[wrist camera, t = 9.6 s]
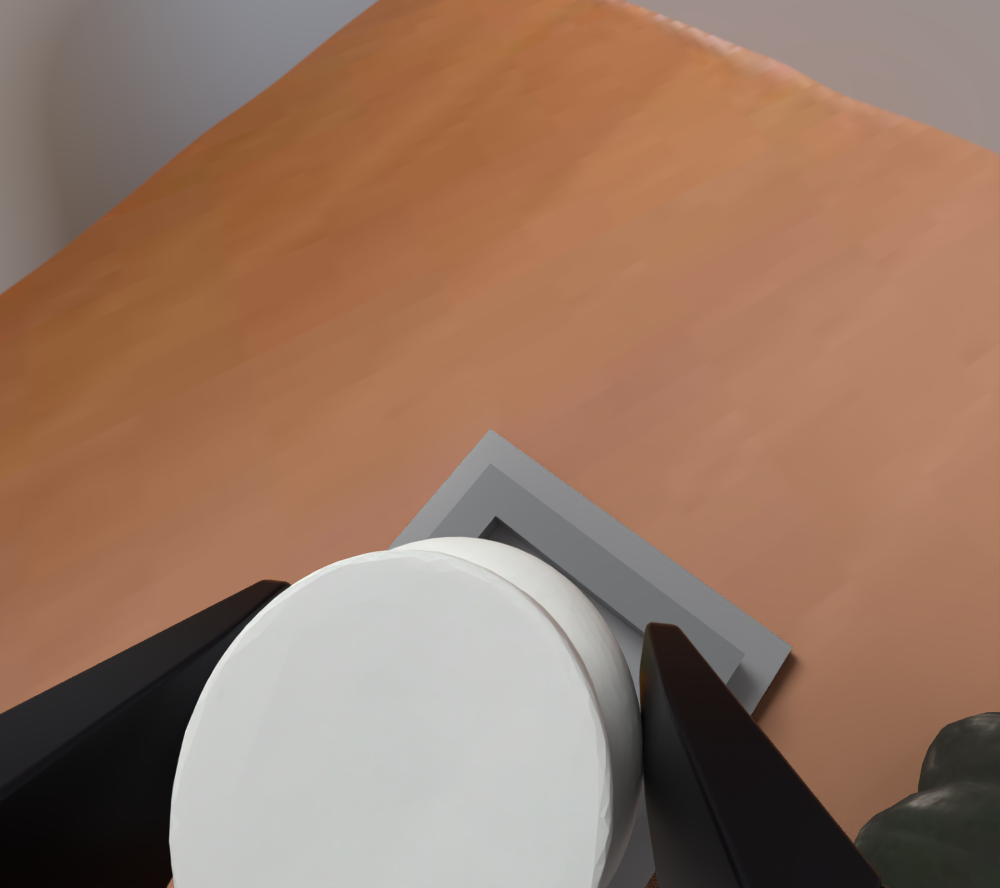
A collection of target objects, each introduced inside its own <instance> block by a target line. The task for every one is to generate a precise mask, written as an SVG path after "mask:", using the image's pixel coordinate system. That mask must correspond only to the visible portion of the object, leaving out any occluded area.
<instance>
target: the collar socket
mask: <svg viewBox="0 0 1000 888" xmlns="http://www.w3.org/2000/svg"><path fill="white" fill-rule="evenodd" d="M441 537H470V538H479V539H486V540H490V541H495V542H499V543H503V544H506V545H509V546H512V547H515V548H518V549H520V550H522V551H524V552H526V553H529V554H531V555H533V556H535V557H537V558H538V559H540V560H542V561H543V562H545V563H546V564H548V565H550V566H551V567H553V568H554V569H555V570H557V571H558V572H559V573H561V574H562V575H563V576H565V577H566V578H567V579H568V580H569V581H571V582H572V583H573V584H574V585H575V586H576V587H577V588H578V589H579V590H580V591H581V592H582V593H583V594H584V595H585V596H586V597H587V598H588V599H589V601H590V602H591V603H592V604H593V605H594V607H595V608H596V609H597V611H598V612H599V613H600V615H601V616H602V617H603V619H604V620H605V622H606V623H607V625H608V626H609V628H610V630H611V631H612V633H613V634H614V636H615V638H616V640H617V642H618V644H619V646H620V648H621V650H622V652H623V654H624V657H625V659H626V662H627V664H628V667H629V669H630V672H631V676H632V679H633V682H634V686H635V690H636V694H637V698H638V702H639V706H640V687H639V670H640V661H641V654H642V648H643V641H644V634H645V628H646V625H647V624H648V623H650V622H658V623H667V624H674V625H676V626H678V627H679V628H680V629H681V630H682V631H683V632H684V634H685V635H686V636H687V637H688V639H689V640H690V641H691V642H692V644H693V645H694V646H695V647H696V649H697V650H698V651H699V652H700V654H701V655H702V656H703V657H704V659H705V660H706V661H707V662H708V663H709V665H710V666H711V667H712V668H713V670H714V671H715V672H716V673H717V675H718V676H719V677H720V678H721V680H722V681H723V682H724V683H725V685H726V686H727V687H728V688H729V690H730V691H731V692H732V693H733V694H734V696H735V697H736V698H737V699H738V701H739V702H740V703H741V704H742V706H743V707H744V708H745V709H746V711H747V712H748V713H749V714H750V716H751V714H752V713H753V711H754V709H755V708H756V706H757V704H758V703H759V701H760V700H761V698H762V696H763V695H764V693H765V691H766V690H767V688H768V687H769V685H770V683H771V682H772V680H773V678H774V677H775V675H776V673H777V672H778V670H779V669H780V667H781V665H782V664H783V662H784V660H785V659H786V657H787V656H788V654H789V652H790V651H791V649H792V646H790V645H789V644H788V643H786V642H785V641H784V640H782V639H781V638H779V637H778V636H777V635H775V634H774V633H772V632H771V631H770V630H768V629H767V628H766V627H764V626H763V625H761V624H760V623H759V622H757V621H756V620H754V619H753V618H752V617H750V616H749V615H748V614H746V613H745V612H743V611H742V610H741V609H739V608H738V607H736V606H735V605H734V604H732V603H731V602H730V601H728V600H727V599H725V598H724V597H723V596H721V595H720V594H718V593H717V592H716V591H714V590H713V589H712V588H710V587H709V586H707V585H706V584H705V583H703V582H702V581H700V580H699V579H698V578H696V577H695V576H694V575H692V574H691V573H689V572H688V571H687V570H685V569H684V568H682V567H681V566H680V565H678V564H677V563H676V562H674V561H673V560H671V559H670V558H669V557H667V556H666V555H664V554H663V553H662V552H660V551H659V550H658V549H656V548H655V547H653V546H652V545H651V544H649V543H648V542H646V541H645V540H644V539H642V538H641V537H640V536H638V535H637V534H635V533H634V532H633V531H631V530H630V529H628V528H627V527H626V526H624V525H623V524H622V523H620V522H619V521H617V520H616V519H615V518H613V517H612V516H610V515H609V514H608V513H606V512H605V511H604V510H602V509H601V508H599V507H598V506H597V505H595V504H594V503H592V502H591V501H590V500H588V499H587V498H586V497H584V496H583V495H581V494H580V493H579V492H577V491H576V490H574V489H573V488H572V487H570V486H569V485H568V484H566V483H565V482H563V481H562V480H561V479H559V478H558V477H556V476H555V475H554V474H552V473H551V472H550V471H548V470H547V469H545V468H544V467H543V466H541V465H540V464H538V463H537V462H536V461H534V460H533V459H532V458H530V457H529V456H527V455H526V454H525V453H523V452H522V451H520V450H519V449H518V448H516V447H515V446H514V445H512V444H511V443H509V442H508V441H507V440H505V439H504V438H502V437H501V436H500V435H498V434H497V433H496V432H494V431H493V430H491V429H490V430H489V431H488V432H487V433H486V435H485V436H484V437H483V438H482V439H481V440H480V442H479V443H478V444H477V445H476V446H475V447H474V449H473V450H472V451H471V452H470V453H469V454H468V456H467V457H466V458H465V459H464V460H463V461H462V463H461V464H460V465H459V466H458V467H457V468H456V470H455V471H454V472H453V473H452V474H451V475H450V477H449V478H448V479H447V480H446V481H445V482H444V484H443V485H442V486H441V487H440V488H439V489H438V491H437V492H436V493H435V494H434V495H433V497H432V498H431V499H430V500H429V501H428V502H427V504H426V505H425V506H424V507H423V508H422V509H421V511H420V512H419V513H418V514H417V515H416V516H415V518H414V519H413V520H412V521H411V522H410V523H409V525H408V526H407V527H406V528H405V529H404V530H403V532H402V533H401V534H400V535H399V536H398V537H397V539H396V540H395V541H394V542H393V543H392V544H391V546H390V547H389V548H388V549H387V550H391V549H393V548H396V547H399V546H402V545H405V544H408V543H412V542H417V541H422V540H426V539H431V538H441ZM387 550H386V551H387ZM640 713H641V711H640ZM655 871H656V870H655V864H654V857H653V850H652V844H651V837H650V831H649V824H648V818H647V810H646V802H645V793H644V779H643V783H642V791H641V798H640V802H639V807H638V811H637V816H636V820H635V824H634V827H633V830H632V833H631V836H630V840H629V843H628V846H627V848H626V850H625V853H624V855H623V857H622V860H621V862H620V864H619V866H618V868H617V871H616V872H615V874H614V876H613V878H612V879H611V881H610V883H609V885H608V886H607V888H645V887H646V885H647V884H648V882H649V880H650V879H651V877H652V876H653V874H654V872H655Z"/></svg>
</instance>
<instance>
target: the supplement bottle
mask: <svg viewBox="0 0 1000 888" xmlns="http://www.w3.org/2000/svg"><path fill="white" fill-rule="evenodd" d="M642 783H643V729H642V719H641V713H640V706H639V702H638V698H637V694H636V690H635V686H634V682H633V679H632V676H631V672H630V669H629V667H628V664H627V662H626V659H625V657H624V654H623V652H622V650H621V648H620V646H619V644H618V642H617V640H616V638H615V636H614V634H613V633H612V631H611V630H610V628H609V626H608V625H607V623H606V622H605V620H604V619H603V617H602V616H601V615H600V613H599V612H598V611H597V609H596V608H595V607H594V605H593V604H592V603H591V602H590V601H589V599H588V598H587V597H586V596H585V595H584V594H583V593H582V592H581V591H580V590H579V589H578V588H577V587H576V586H575V585H574V584H573V583H572V582H571V581H569V580H568V579H567V578H566V577H565V576H563V575H562V574H561V573H559V572H558V571H557V570H555V569H554V568H553V567H551V566H550V565H548V564H546V563H545V562H543V561H542V560H540V559H538V558H537V557H535V556H533V555H531V554H529V553H526V552H524V551H522V550H520V549H518V548H515V547H512V546H509V545H506V544H503V543H499V542H495V541H490V540H486V539H479V538H470V537H441V538H431V539H426V540H422V541H417V542H412V543H408V544H405V545H402V546H399V547H396V548H393V549H391V550H387V551H378V552H371V553H367V554H362V555H359V556H355V557H351V558H348V559H345V560H341V561H338V562H335V563H333V564H331V565H328V566H326V567H324V568H322V569H319V570H317V571H315V572H313V573H311V574H310V575H308V576H306V577H304V578H303V579H301V580H299V581H298V582H296V583H295V584H293V585H292V586H290V587H289V588H288V589H286V590H285V591H283V592H282V593H281V594H280V595H278V596H277V597H276V598H274V599H273V600H272V601H271V602H270V603H269V604H268V605H267V606H266V607H264V608H263V609H262V610H261V611H260V612H259V613H258V614H257V615H256V616H255V617H254V618H253V619H252V621H250V622H249V623H248V624H247V625H246V627H245V628H244V629H243V630H242V632H241V633H240V634H239V635H238V636H237V637H236V638H235V640H234V641H233V642H232V644H231V645H230V646H229V648H228V649H227V651H226V652H225V653H224V655H223V656H222V658H221V659H220V661H219V662H218V664H217V665H216V667H215V668H214V670H213V672H212V674H211V676H210V677H209V679H208V681H207V683H206V685H205V687H204V689H203V691H202V693H201V695H200V697H199V699H198V702H197V704H196V707H195V709H194V712H193V714H192V717H191V719H190V721H189V724H188V726H187V729H186V731H185V735H184V739H183V743H182V748H181V752H180V756H179V760H178V765H177V770H176V775H175V780H174V785H173V792H172V800H171V815H170V835H169V844H170V853H171V866H172V873H173V880H174V888H607V886H608V885H609V883H610V881H611V879H612V878H613V876H614V874H615V872H616V871H617V868H618V866H619V864H620V862H621V860H622V857H623V855H624V853H625V850H626V848H627V846H628V843H629V840H630V836H631V833H632V830H633V827H634V824H635V820H636V816H637V811H638V807H639V802H640V798H641V791H642Z"/></svg>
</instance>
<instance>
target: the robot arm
mask: <svg viewBox="0 0 1000 888" xmlns="http://www.w3.org/2000/svg"><path fill="white" fill-rule="evenodd" d="M290 586H291V585H290V584H289V583H288V582H285V581H276V580H262V581H259V582H257V583H255V584H254V585H252V586H250V587H248V588H246V589H244V590H242V591H240V592H238V593H236V594H234V595H232V596H230V597H228V598H226V599H224V600H222V601H220V602H218V603H216V604H214V605H212V606H211V607H209V608H207V609H205V610H203V611H201V612H199V613H197V614H195V615H193V616H191V617H189V618H187V619H185V620H183V621H181V622H179V623H177V624H175V625H173V626H171V627H170V628H168V629H166V630H164V631H162V632H160V633H158V634H156V635H154V636H152V637H150V638H148V639H146V640H144V641H142V642H140V643H138V644H136V645H134V646H132V647H130V648H128V649H127V650H125V651H123V652H121V653H119V654H117V655H115V656H113V657H111V658H109V659H107V660H105V661H103V662H101V663H99V664H97V665H95V666H93V667H91V668H89V669H87V670H85V671H84V672H82V673H80V674H78V675H76V676H74V677H72V678H70V679H68V680H66V681H64V682H62V683H60V684H58V685H56V686H54V687H52V688H50V689H48V690H46V691H44V692H42V693H41V694H39V695H37V696H35V697H33V698H31V699H29V700H27V701H25V702H23V703H21V704H19V705H17V706H15V707H13V708H11V709H9V710H7V711H5V712H3V713H1V714H0V888H167V886H168V884H169V883H170V881H171V879H172V877H173V873H172V866H171V853H170V844H169V835H170V815H171V800H172V792H173V785H174V780H175V775H176V770H177V765H178V760H179V756H180V752H181V748H182V743H183V739H184V735H185V731H186V729H187V726H188V724H189V721H190V719H191V717H192V714H193V712H194V709H195V707H196V704H197V702H198V699H199V697H200V695H201V693H202V691H203V689H204V687H205V685H206V683H207V681H208V679H209V677H210V676H211V674H212V672H213V670H214V668H215V667H216V665H217V664H218V662H219V661H220V659H221V658H222V656H223V655H224V653H225V652H226V651H227V649H228V648H229V646H230V645H231V644H232V642H233V641H234V640H235V638H236V637H237V636H238V635H239V634H240V633H241V632H242V630H243V629H244V628H245V627H246V625H247V624H248V623H249V622H250V621H252V619H253V618H254V617H255V616H256V615H257V614H258V613H259V612H260V611H261V610H262V609H263V608H264V607H266V606H267V605H268V604H269V603H270V602H271V601H272V600H273V599H274V598H276V597H277V596H278V595H280V594H281V593H282V592H283V591H285V590H286V589H288V588H289V587H290ZM639 687H640V711H641V719H642V729H643V779H644V793H645V802H646V810H647V818H648V824H649V831H650V837H651V844H652V850H653V857H654V864H655V870H656V877H657V883H658V888H889V887H888V886H882V887H881V885H882V879H881V877H880V876H879V874H878V873H877V872H876V871H875V869H874V868H873V867H872V866H871V864H870V863H869V862H868V861H867V859H866V858H865V857H864V856H863V854H862V853H861V852H860V851H859V850H858V848H857V847H856V846H855V845H854V843H853V842H852V841H851V840H850V838H849V837H848V836H847V835H846V833H845V832H844V831H843V830H842V828H841V827H840V826H839V825H838V823H837V822H836V821H835V820H834V819H833V817H832V816H831V815H830V814H829V812H828V811H827V810H826V809H825V807H824V806H823V805H822V804H821V802H820V801H819V800H818V799H817V797H816V796H815V795H814V794H813V792H812V791H811V790H810V789H809V788H808V786H807V785H806V784H805V783H804V781H803V780H802V779H801V778H800V776H799V775H798V774H797V773H796V771H795V770H794V769H793V768H792V766H791V765H790V764H789V763H788V761H787V760H786V759H785V758H784V756H783V755H782V754H781V753H780V752H779V750H778V749H777V748H776V747H775V745H774V744H773V743H772V742H771V740H770V739H769V738H768V737H767V735H766V734H765V733H764V732H763V730H762V729H761V728H760V727H759V725H758V724H757V723H756V722H755V721H754V719H753V718H752V717H751V716H750V714H749V713H748V712H747V711H746V709H745V708H744V707H743V706H742V704H741V703H740V702H739V701H738V699H737V698H736V697H735V696H734V694H733V693H732V692H731V691H730V690H729V688H728V687H727V686H726V685H725V683H724V682H723V681H722V680H721V678H720V677H719V676H718V675H717V673H716V672H715V671H714V670H713V668H712V667H711V666H710V665H709V663H708V662H707V661H706V660H705V659H704V657H703V656H702V655H701V654H700V652H699V651H698V650H697V649H696V647H695V646H694V645H693V644H692V642H691V641H690V640H689V639H688V637H687V636H686V635H685V634H684V632H683V631H682V630H681V629H680V628H679V627H678V626H676V625H674V624H667V623H658V622H650V623H648V624H647V625H646V628H645V634H644V641H643V648H642V654H641V661H640V670H639Z"/></svg>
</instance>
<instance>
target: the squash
mask: <svg viewBox="0 0 1000 888" xmlns="http://www.w3.org/2000/svg"><path fill="white" fill-rule="evenodd" d="M854 845H855V846H856V847H857V848H858V850H859V851H860V852H861V853H862V854H863V856H864V857H865V858H866V859H867V861H868V862H869V863H870V864H871V866H872V867H873V868H874V869H875V871H876V872H877V873H878V874H879V876H880V877H881V879H882V885H881V887H882V886H888V887H889V888H1000V712H986V713H983V714H979V715H975V716H971V717H967V718H965V719H962V720H959V721H956V722H953V723H950V724H948V725H947V726H945V727H944V728H943V729H941V731H940V732H939V734H938V735H937V736H936V738H935V739H934V741H933V742H932V744H931V745H930V746H929V748H928V751H927V753H926V756H925V759H924V761H923V764H922V769H921V774H920V779H919V785H918V793H915V794H911V795H910V796H908V797H906V798H905V799H903V800H901V801H900V802H898V803H897V804H895V805H893V806H892V807H890V808H888V809H886V810H884V811H882V812H880V813H878V814H876V815H875V816H874V817H873V818H872V819H871V820H870V821H869V822H868V823H866V824H865V825H864V826H863V827H862V828H861V829H860V831H859V834H858V836H857V838H856V840H855V842H854Z"/></svg>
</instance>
